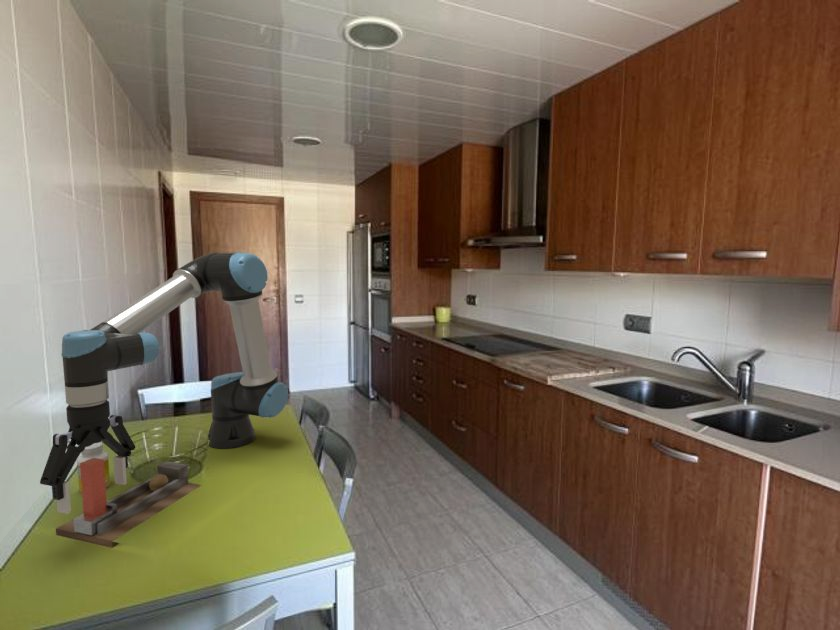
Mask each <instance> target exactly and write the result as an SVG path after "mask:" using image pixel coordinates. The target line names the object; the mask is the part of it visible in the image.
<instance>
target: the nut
mask: <svg viewBox="0 0 840 630" xmlns="http://www.w3.org/2000/svg"><path fill="white" fill-rule="evenodd" d="M150 478H151V480H150V482H149V488H150V489H151V490H152V491H153V492H154V491H156V490H158V489H160V488H161V487H163V486H165V485H167V484H168V483H169V480H168V478H167V476H165V475H163V474H156V475H154V476H152V477H150Z"/></svg>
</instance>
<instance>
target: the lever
mask: <svg viewBox="0 0 840 630" xmlns="http://www.w3.org/2000/svg"><path fill="white" fill-rule="evenodd" d="M80 470H81V484H82V493H81V497H82V499H81V500H82V509H83V513H81V514H80V515H78V516H76V517H73V518H72V520H74V532H79V533H83V534H88V535H94V534H95V533H97V524H98V523H99V522H101V521H103V520H105V519H106V518H108V517H110V516H112V515H114V514H115V513H117V506H116V504H114V503H109V502H106V501H107V488H106V487H105V472H104V459H98V458H92V459H89V460H87V461H84V462H82V463H80Z"/></svg>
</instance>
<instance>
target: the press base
mask: <svg viewBox="0 0 840 630" xmlns="http://www.w3.org/2000/svg"><path fill="white" fill-rule="evenodd" d="M156 471H157V473H156V475H158V474H163V475H165V476H167V478H168V480H169V483H168V484H167V485H165V486H163V487H161V488H160V489H158V490H156V491H154V492H153V491H152V490H151V489H150V488H149V482H150V480H151V478H152V477H150V478H147V479H146V480H144V481H143V482H141V483H139V484H137V485H135V486H133V487H131V488H129V489H128V490H127V489H126V490H125V491H123V492H121V493H120V494H118V495H116V496H114V497H112V498H110V499H108V500H106V502H109V503H114V504H116V506H117V513H115V514H114V515H112V516H110V517H108V518H106V519H105V520H103V521H101V522H99V523H98V524H97V533H95V534H94V535H88V534H83V533H79V532H74V520H73V519H71V520H69V521H68V522H65V523H64V524H61V525H60V526H58V527H56V528H55V536H60V537H63V538H67V539H72V540H77V541H79V542H80V541H81V542H86V543H89V544H94V545H98V546H103V547H106V548H107V547H108V548H111V549H112V548H114V547H116V546H118V545H119V544H120V542H116V541H115V540H117V539H118V538H120V537H122V536H124V534H126V533H128V532H129V531H131V530H132V529H134V528H136V527H137V526H139V525H140V524H143V523H144V522H146V520H149V519H150V518H152V517H153V516H155V515H157V514H158V513H160V512H162V511H163V510H165V509H166V508H168V507H169V506H171V505H172V504H174V503H176V502H177V501H179V500H181V499H182V498H184V497H186V496H187V495H190V493H192V492H194V491H195V490H196V489H198V488H200V487H202V484H198V483H192V482H189V475H188V474H189V473H188V472H189V470H188V464H186V463H185V464H183V463H178V462H171V461H165V462H163V463H161V464H159V465H157V466H156Z"/></svg>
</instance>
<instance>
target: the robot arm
mask: <svg viewBox="0 0 840 630" xmlns="http://www.w3.org/2000/svg"><path fill="white" fill-rule="evenodd" d="M268 275H269V274H268V269H267V268H266V265H265V263H264V262H263V260H262V259H261V258H260V257H258V256H257V255H255V254H254V253H247V252H242V251H241V252H240V251H239V252H211V253H206V254H204V255H202V256H198V257H197V258H195V259H192V260H191V261H189V262H187V263H186V264H184V265H182V266H180V267H179V268H178V269H176V270H175V271H174V272H173V273H172V277H170V278H169V279H167V280H166V281H164V282H163V283H161V284H159V285H158V286H156V287H155V288H153V289H152V290H150V291H148V292H147V293H145V294H144V295H143V296H141V297H138V299H136V300H134V301H133V302H131V303H130V304H128V305H127V306H126V307H124V308H122V309H120V310H119V311H117V312H116V313H114V314H113V315H111V316H110V317H108V318H107V319H105V320H104V321H102V322H100V323H99V324H97V325H96V326H93V328H90V329H82V330H76V331H70V332H67V333H65V334H64V335H63V336H62V337H61V338H62V340H61V341H62V342H61V358H62V367H63V378H64V379H63V380H64V394H65V395H64V396H65V403H66V405H67V406H66V408H65V410H66V411H65V412H66V422H67V424H68V426H69V428H68V432H64V433H54V434H53V435H52V447H51V448H50V452H49V455H48V457H47V460H46V463H45V466H44V469H43V472H42V474H41V478H40V480H39V483H40V485H44V486H49V487H50V486H51V492H52V499H53V500H56V508H57V509H56V510H57V513H61V514H66V515H68V514H70V513H71V512H72V511H71V510H72V509H71V508H72V507H71V494H70V492H71V491H70V483H69V481H66V480H67V478H68V476H69V475H70V473H71V471H72V469H73V467H74V466H75V463H77V460H78V458H79V457H80V455H81V454H82V453H81V452H83V451H84V449H85V447H89V446H91V445H92V444H94V443H99V442H100V443H102V444H104V445H105V446H106V447H108V448H109V449H110V450H111V451H112V452H113V453H114V454H116V455H115V456H112V457H113V458H112V459H113V474H114V484H116V485H121V486H125V485H127V483H128V480H127V478H128V477H127V469H128V467H129V459H128V457H130V456H131V455H132V451H134V450H136V444H135V443H134V441H133V439H132V438H131V436H130V434H129V433H128V431H127V429H126V427H125V425H124V421H123V416H121V415H115V414H111V410H110V401H109V400H108V399H109V398H110V394H109V393H110V390H109V380H108V373H109V372H112V371H114V370H120V369H126V368H131V367H137V366H143V365H145V364H149V363H152V362H154V361H156V359H158V357H159V355H160V343H159V341H158V339H157V338H156V336H155V335H154V334H152V333H150V332H144V331H146V330H147V329H149V327H151V326H152V325H153V324H154V325H155V324H156V323H157V322H159V320H161V319H162V318H164V317H166V315H168V314H169V313H171V312H172V311H174V310H175V309H176V308H178V307H179V306H181V305H182V304H183V303H185V302H186V301H187V300H189V299H191V298H192V299H196V298H198V297H200V296H201V295H202V294H205V293H208V292H212V291H215V292H220V295H221V299H222V302H224V303H226V304H228V306H229V311H230V312H229V313H230V316H231V321H232V326H233V330H234V335H235V340H236V344H237V350H238V355H239V360H240V364H241V369H242V371H239V372H238V371H237V372H231V373H224V374H221V375H217V376H214V377H213V378H212V379H211V382H210V398H211V399H210V400H211V419H212V420H211V425H210V427H209V431H208V433H207V438H206V440H210V442H209V445H208V446H209V447H211V448H214V449H232V448H238V447H242V446H246V445H247V444H250V443H252V442H253V441H254V440H255V438H256V431H255V428H254V427H253V423H252V421H251V418H250V416H256V417H260V418H274V417H275V418H276V417H278V415H279V414H280V413H281V412H283V411H284V408H285V405H286V404H287V402H288V399H289V390H288V386H287V385H286V384H285V383H284V382H282V381H279V378H278V374H277V373H278V372H276V370H274V369H272V366H271V361H270V356H269V351H268V349H269V348H268V345H267V340H266V334H265V327H264V322H263V319H262V313H261V308H260V302H259V300H260V298H261V297H262V296H263V290H264V289H265V288H266V285H267V281H268V277H269V276H268ZM109 428H110V429H111V430H112V432H113V433H114V435H115V436H116V439H115V437H114V436H113V435H112V434H111V432H109V431H108V430H109ZM76 445H77V446H76Z"/></svg>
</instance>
